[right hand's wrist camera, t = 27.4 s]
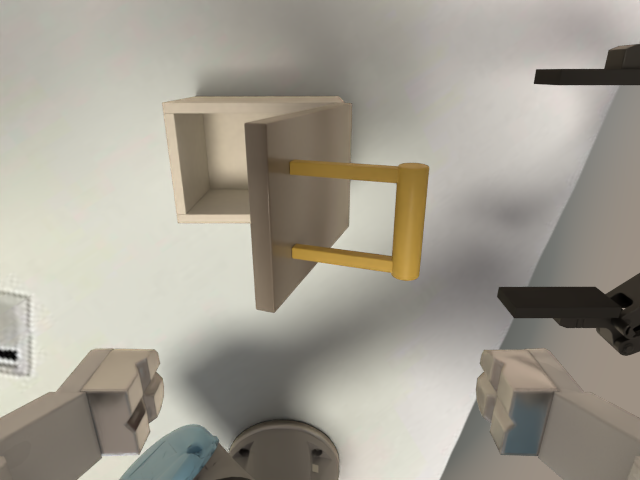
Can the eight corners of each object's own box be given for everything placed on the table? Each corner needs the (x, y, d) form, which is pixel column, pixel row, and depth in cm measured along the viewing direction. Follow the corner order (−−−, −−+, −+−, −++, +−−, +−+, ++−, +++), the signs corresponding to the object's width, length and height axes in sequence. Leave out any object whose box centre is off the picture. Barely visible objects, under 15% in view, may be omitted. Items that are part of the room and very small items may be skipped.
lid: (255, 310, 23) (408, 339, 20) (243, 122, 19) (426, 129, 17) (336, 225, 36) (436, 236, 33) (337, 102, 32) (450, 105, 30)
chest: (205, 194, 45) (177, 223, 36) (194, 96, 41) (161, 102, 33) (338, 194, 45) (342, 223, 36) (339, 96, 41) (344, 102, 33)
